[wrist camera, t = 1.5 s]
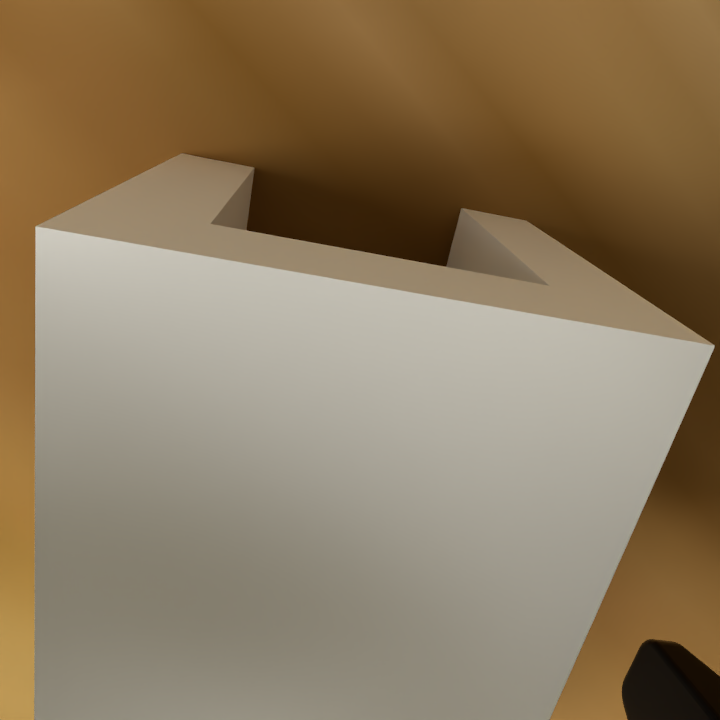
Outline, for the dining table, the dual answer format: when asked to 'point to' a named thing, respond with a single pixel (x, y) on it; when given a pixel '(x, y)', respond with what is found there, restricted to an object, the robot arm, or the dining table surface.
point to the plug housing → (329, 461)
